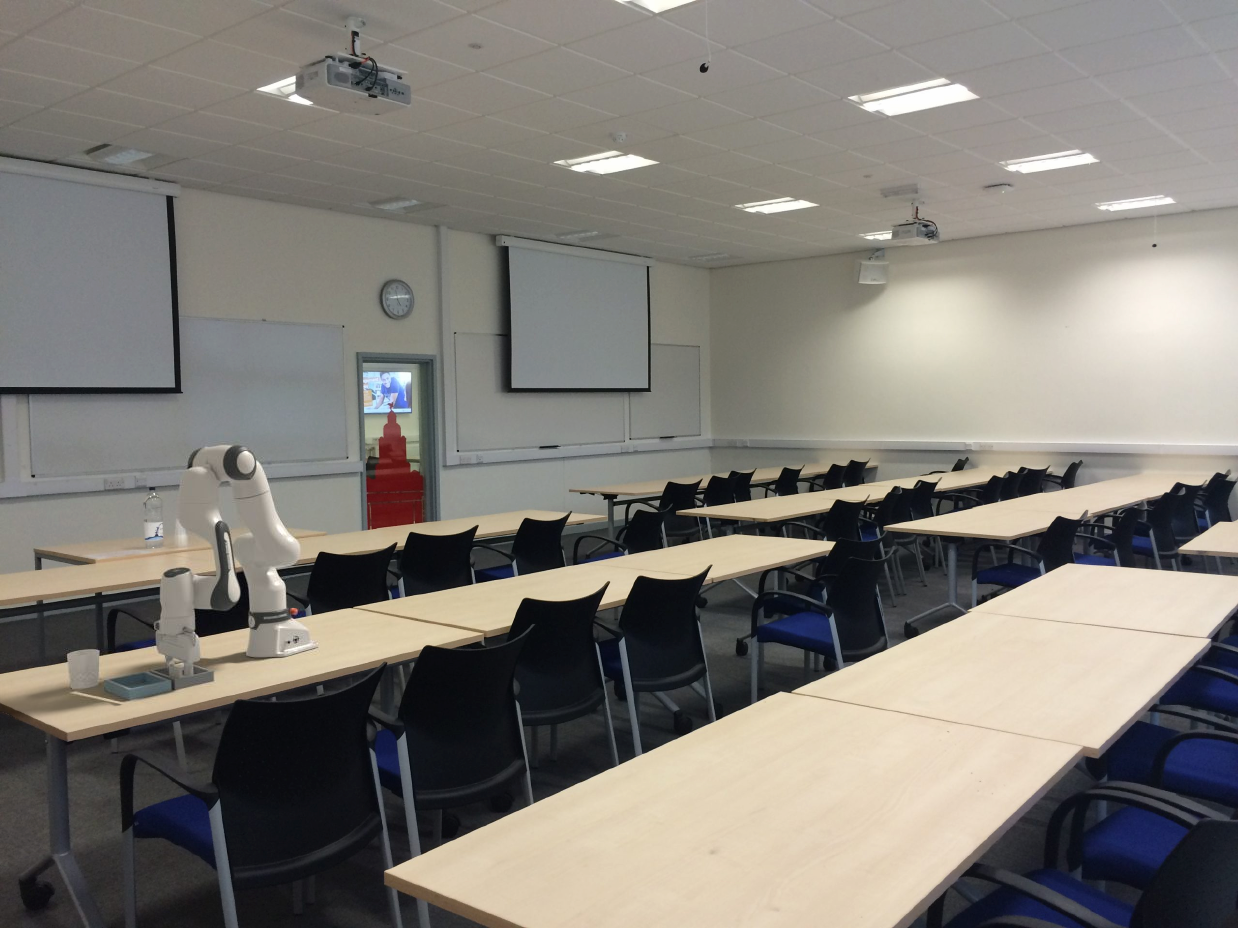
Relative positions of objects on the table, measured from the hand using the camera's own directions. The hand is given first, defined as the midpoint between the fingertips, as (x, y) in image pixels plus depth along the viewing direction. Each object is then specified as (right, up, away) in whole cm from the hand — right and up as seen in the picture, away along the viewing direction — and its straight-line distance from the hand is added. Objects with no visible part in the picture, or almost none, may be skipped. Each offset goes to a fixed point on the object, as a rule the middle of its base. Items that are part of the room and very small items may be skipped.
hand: (179, 673), depth 262 cm
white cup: (-25, -4, -3) cm, 26 cm away
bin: (-7, -3, -9) cm, 12 cm away
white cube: (0, -2, 0) cm, 2 cm away
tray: (+1, -3, 0) cm, 3 cm away
